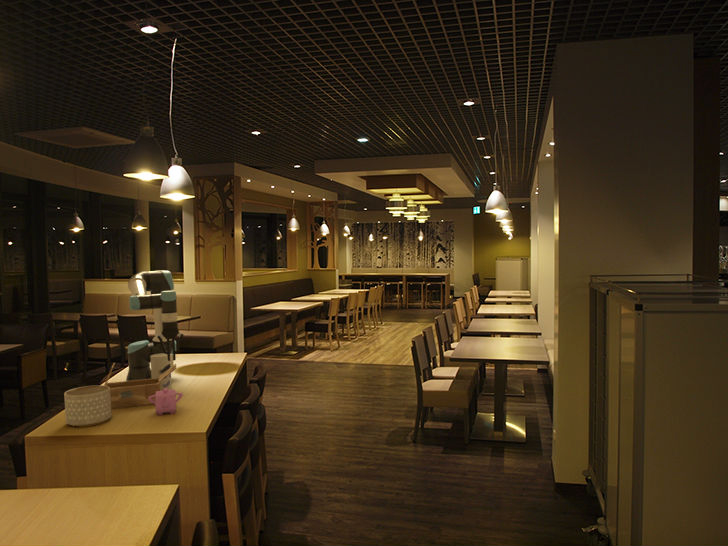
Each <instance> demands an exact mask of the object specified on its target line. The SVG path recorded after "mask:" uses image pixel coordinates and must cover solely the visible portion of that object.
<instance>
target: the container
mask: <svg viewBox="0 0 728 546" xmlns="http://www.w3.org/2000/svg"><path fill="white" fill-rule="evenodd" d="M150 357H151V363H150V368H151V376H152V379H154V378H160V376H161V375H162V374H163V373H164V372H166V371H167V370H168V369H169V368H171V366H170V361H168V355H167V354H164V353H163V354H155V355H151V356H150ZM165 388H167V389H168V390H173V385H172V372H171V373H170V374H169V375H168V376H166V377H165V378H164V379H163V380H161V391H163V390H164V389H165Z"/></svg>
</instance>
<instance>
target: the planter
mask: <svg viewBox="0 0 728 546" xmlns="http://www.w3.org/2000/svg"><path fill="white" fill-rule="evenodd" d="M63 395H64V397H63V398H64V411H65V412H64V413H65V423H66V424H67V425H69V426H71V425H74V426H87V427H92V426H91V425H93V426H96V425H100V424H103V423H105V422H107V421H108V420H109V419H110V418H111V417H112V409H111V397H110V387H109V386H104V384H103V385H102V384H101V385H98V384H97V385H95V384H94V385H86V386H80V387H75V388H71V389H68V390H66V391H65V392H64V393H63ZM74 426H73V427H74Z"/></svg>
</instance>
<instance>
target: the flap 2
mask: <svg viewBox="0 0 728 546" xmlns="http://www.w3.org/2000/svg"><path fill="white" fill-rule="evenodd" d="M175 370H177V363H174V367H172V368H169V369H168V370H167V371H166V372H164V373H163V374H162V375H161V376H160V378H159V382H160V381H161V380H163V379H164V378H165V377H166V376H168V375H169V374H170V373H171V374H172V373H173V372H174V371H175Z"/></svg>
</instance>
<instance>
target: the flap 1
mask: <svg viewBox="0 0 728 546" xmlns="http://www.w3.org/2000/svg"><path fill="white" fill-rule="evenodd" d="M115 364H116V362H113V364H112V366H111V367H110V371H109V373H108V375H107V378H105V383H104V384H103V386H105V385H106V383H109V382H108V381H109V379H110V376H111V374H112V372H113V370H114V366H115Z"/></svg>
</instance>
